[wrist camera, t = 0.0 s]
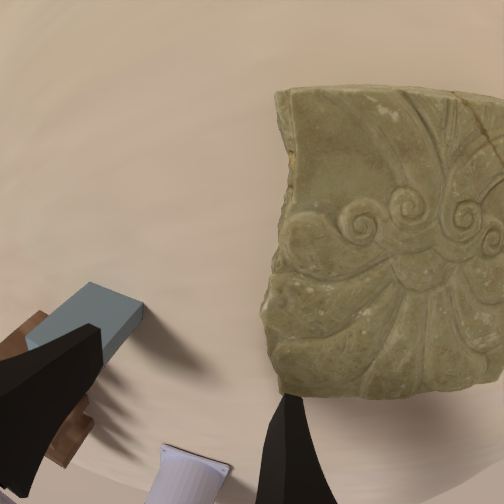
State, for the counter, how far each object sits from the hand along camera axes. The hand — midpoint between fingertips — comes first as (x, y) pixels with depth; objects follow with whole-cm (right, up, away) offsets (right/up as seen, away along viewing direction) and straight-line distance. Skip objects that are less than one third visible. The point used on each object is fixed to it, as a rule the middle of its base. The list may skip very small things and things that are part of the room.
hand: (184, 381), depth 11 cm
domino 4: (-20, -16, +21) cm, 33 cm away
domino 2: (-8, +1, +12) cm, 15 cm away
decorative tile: (+12, +5, +8) cm, 15 cm away
